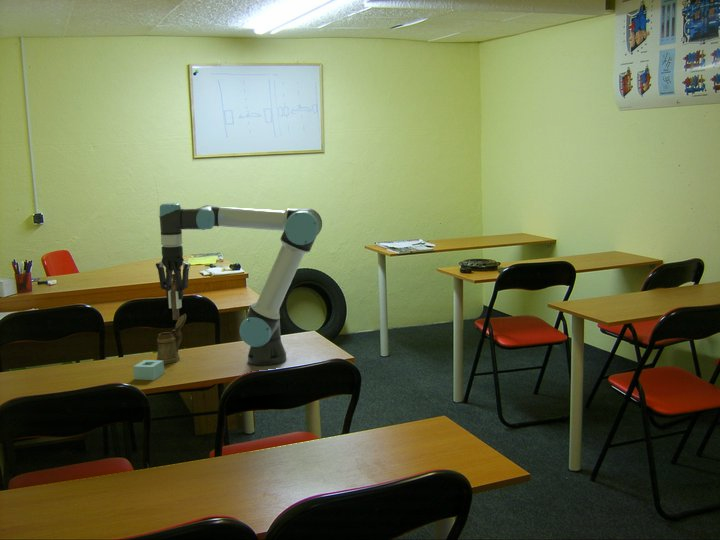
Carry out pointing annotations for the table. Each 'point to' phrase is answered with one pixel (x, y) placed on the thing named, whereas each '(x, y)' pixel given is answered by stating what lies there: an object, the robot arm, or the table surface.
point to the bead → (148, 369)
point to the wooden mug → (170, 343)
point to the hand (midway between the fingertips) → (175, 307)
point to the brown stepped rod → (174, 298)
